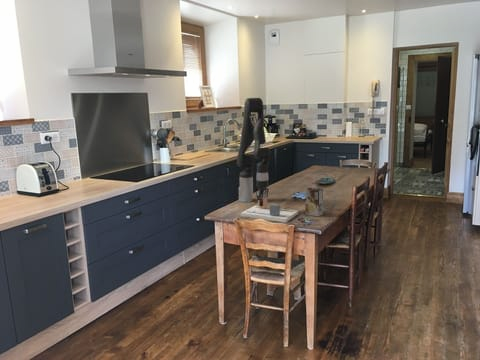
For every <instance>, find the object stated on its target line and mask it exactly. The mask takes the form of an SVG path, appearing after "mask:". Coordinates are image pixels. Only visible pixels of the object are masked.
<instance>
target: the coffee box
mask: <svg viewBox="0 0 480 360" xmlns="http://www.w3.org/2000/svg"><path fill="white" fill-rule="evenodd" d="M323 192H324V189H323V188H319V187H317V188H316V187H307V188H306V189H305V215H306V216H314V217H320V216H322V215H323V212H324V211H323V207H324V206H323V205H324V204H323V201H324V199H323V198H324V195H323V194H324V193H323Z"/></svg>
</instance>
